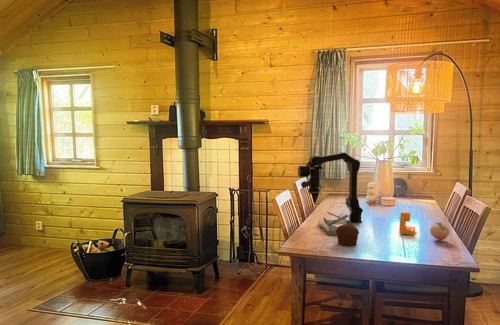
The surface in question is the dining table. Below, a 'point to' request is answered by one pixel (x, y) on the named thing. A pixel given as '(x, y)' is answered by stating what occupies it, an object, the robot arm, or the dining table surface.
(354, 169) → the robot arm
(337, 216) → the strap
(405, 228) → the bracket
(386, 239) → the dining table surface
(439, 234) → the decorative fruit
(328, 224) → the strap
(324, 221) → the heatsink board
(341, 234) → the muffin
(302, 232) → the dining table surface
